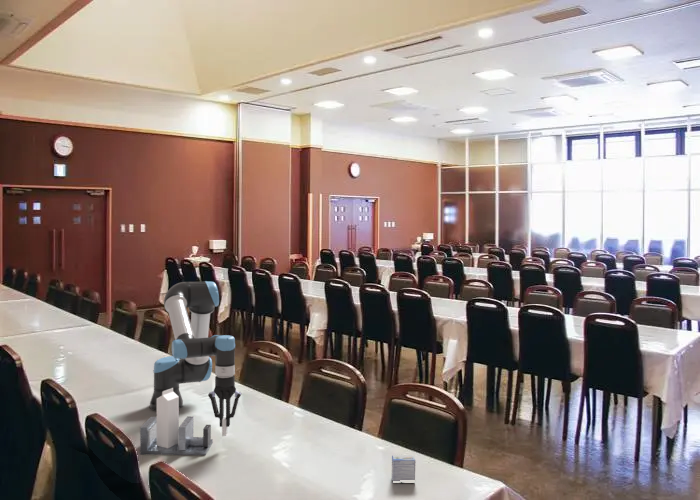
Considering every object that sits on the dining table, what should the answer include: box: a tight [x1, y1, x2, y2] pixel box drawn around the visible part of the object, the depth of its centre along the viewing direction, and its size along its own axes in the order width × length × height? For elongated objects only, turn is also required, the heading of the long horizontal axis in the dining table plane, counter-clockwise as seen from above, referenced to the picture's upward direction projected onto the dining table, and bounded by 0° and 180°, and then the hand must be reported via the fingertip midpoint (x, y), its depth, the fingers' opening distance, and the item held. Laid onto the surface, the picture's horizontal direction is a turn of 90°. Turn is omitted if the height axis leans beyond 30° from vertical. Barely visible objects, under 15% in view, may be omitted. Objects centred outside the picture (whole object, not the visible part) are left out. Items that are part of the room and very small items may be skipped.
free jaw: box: [178, 415, 212, 450], centre depth 225 cm, size 12×11×9 cm
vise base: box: [139, 416, 214, 456], centre depth 225 cm, size 12×25×10 cm, turn 91°
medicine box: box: [391, 454, 417, 481], centre depth 201 cm, size 8×4×9 cm, turn 92°
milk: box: [156, 388, 180, 448], centre depth 225 cm, size 6×6×22 cm
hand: (224, 434), depth 225 cm, fingers closed
